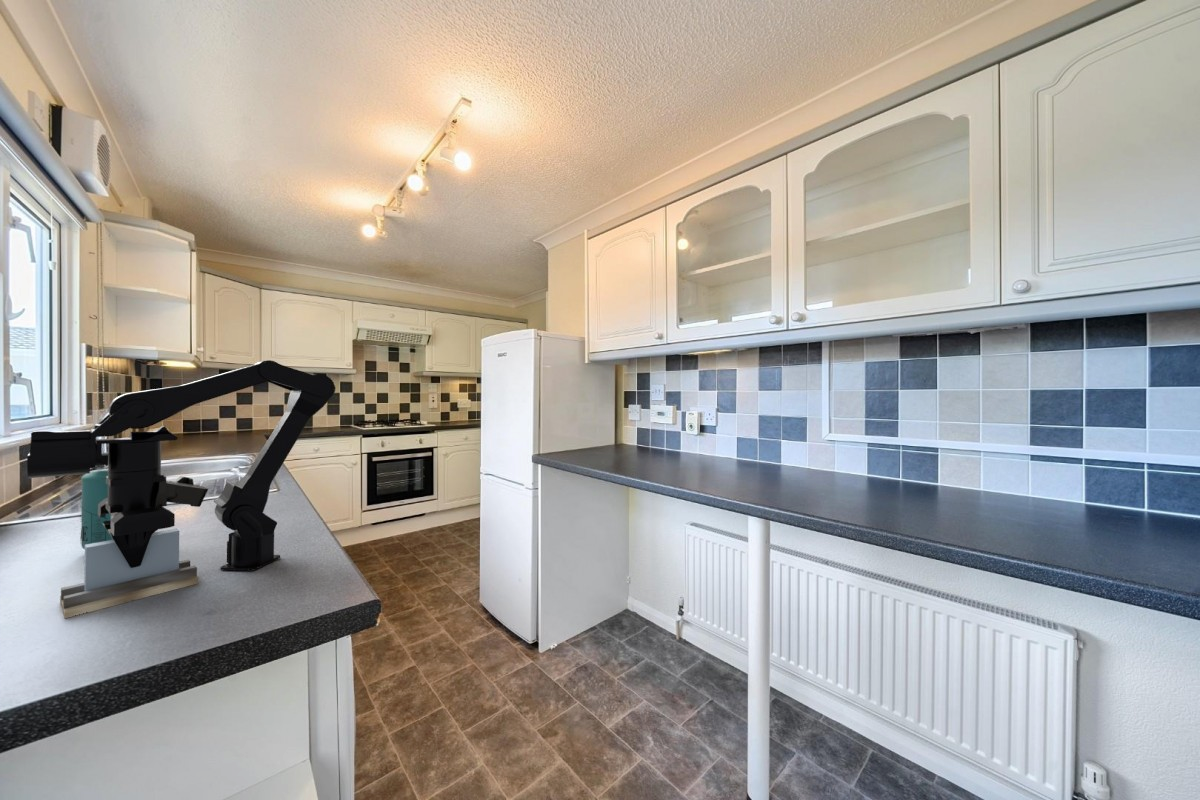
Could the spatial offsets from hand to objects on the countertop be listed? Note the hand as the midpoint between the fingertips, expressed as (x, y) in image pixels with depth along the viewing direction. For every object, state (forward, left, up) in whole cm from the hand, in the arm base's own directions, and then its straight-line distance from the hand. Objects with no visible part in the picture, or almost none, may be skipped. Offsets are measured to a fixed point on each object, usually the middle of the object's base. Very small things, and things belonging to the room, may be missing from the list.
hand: (134, 565), depth 67 cm
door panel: (0, 0, -2) cm, 2 cm away
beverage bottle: (+25, -16, -5) cm, 30 cm away
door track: (0, 0, -4) cm, 4 cm away
